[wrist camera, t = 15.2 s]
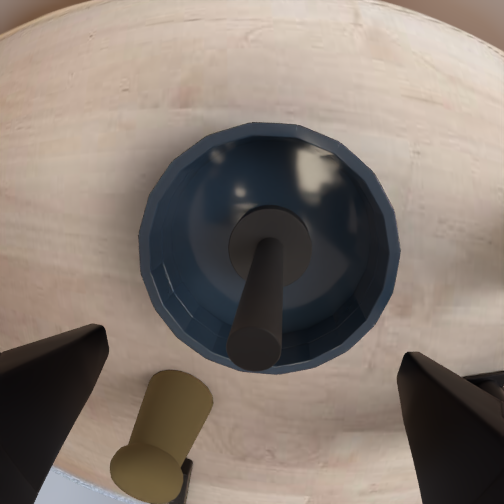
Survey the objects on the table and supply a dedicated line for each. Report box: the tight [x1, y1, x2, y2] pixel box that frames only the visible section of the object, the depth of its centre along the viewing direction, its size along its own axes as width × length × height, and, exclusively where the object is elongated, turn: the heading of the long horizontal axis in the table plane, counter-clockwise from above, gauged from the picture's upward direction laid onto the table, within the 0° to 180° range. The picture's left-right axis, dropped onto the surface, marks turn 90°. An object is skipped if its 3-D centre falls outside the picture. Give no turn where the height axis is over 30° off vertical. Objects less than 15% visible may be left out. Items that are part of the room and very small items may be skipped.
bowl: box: [138, 122, 401, 375], centre depth 19 cm, size 14×14×4 cm
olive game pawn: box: [110, 370, 213, 504], centre depth 20 cm, size 6×6×11 cm
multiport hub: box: [151, 458, 193, 504], centre depth 29 cm, size 4×14×2 cm, turn 168°
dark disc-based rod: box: [226, 205, 312, 371], centre depth 15 cm, size 5×5×12 cm
